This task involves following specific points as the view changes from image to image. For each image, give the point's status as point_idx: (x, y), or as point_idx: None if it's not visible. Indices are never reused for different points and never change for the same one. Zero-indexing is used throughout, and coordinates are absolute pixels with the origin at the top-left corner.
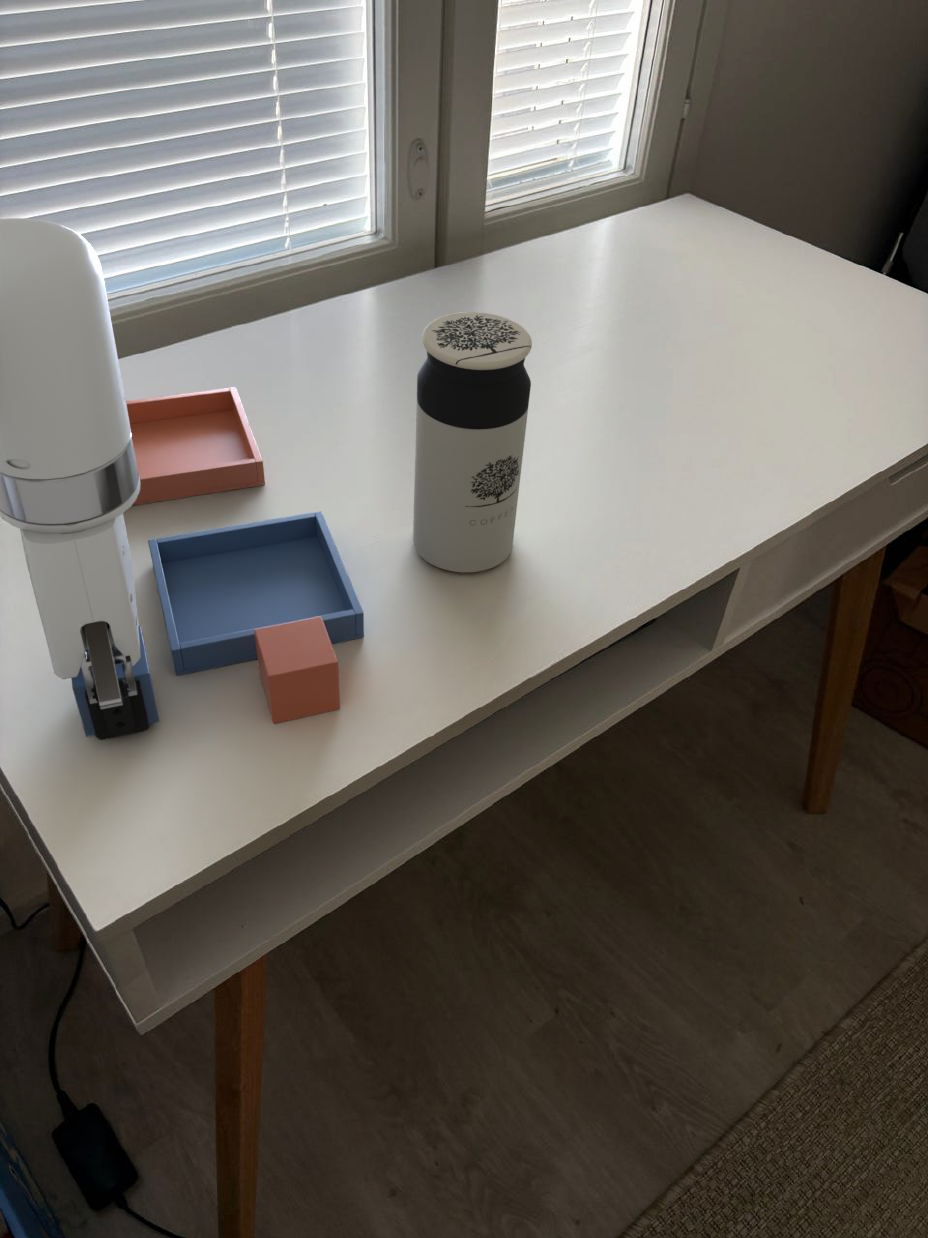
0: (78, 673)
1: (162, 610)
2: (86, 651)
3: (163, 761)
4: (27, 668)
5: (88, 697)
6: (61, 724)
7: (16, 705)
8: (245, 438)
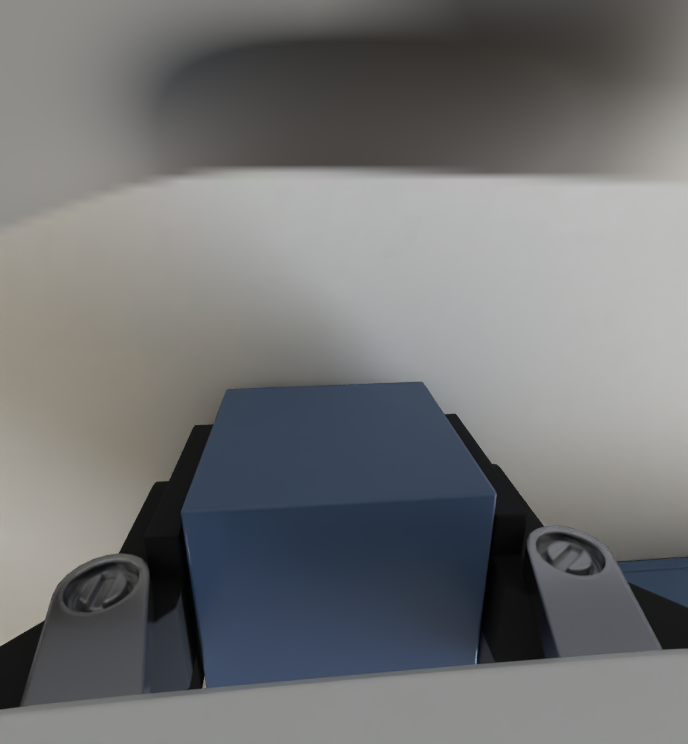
0: (268, 531)
1: (626, 562)
2: (392, 557)
3: None
4: (568, 230)
5: (146, 544)
6: (315, 316)
7: (429, 192)
8: None
